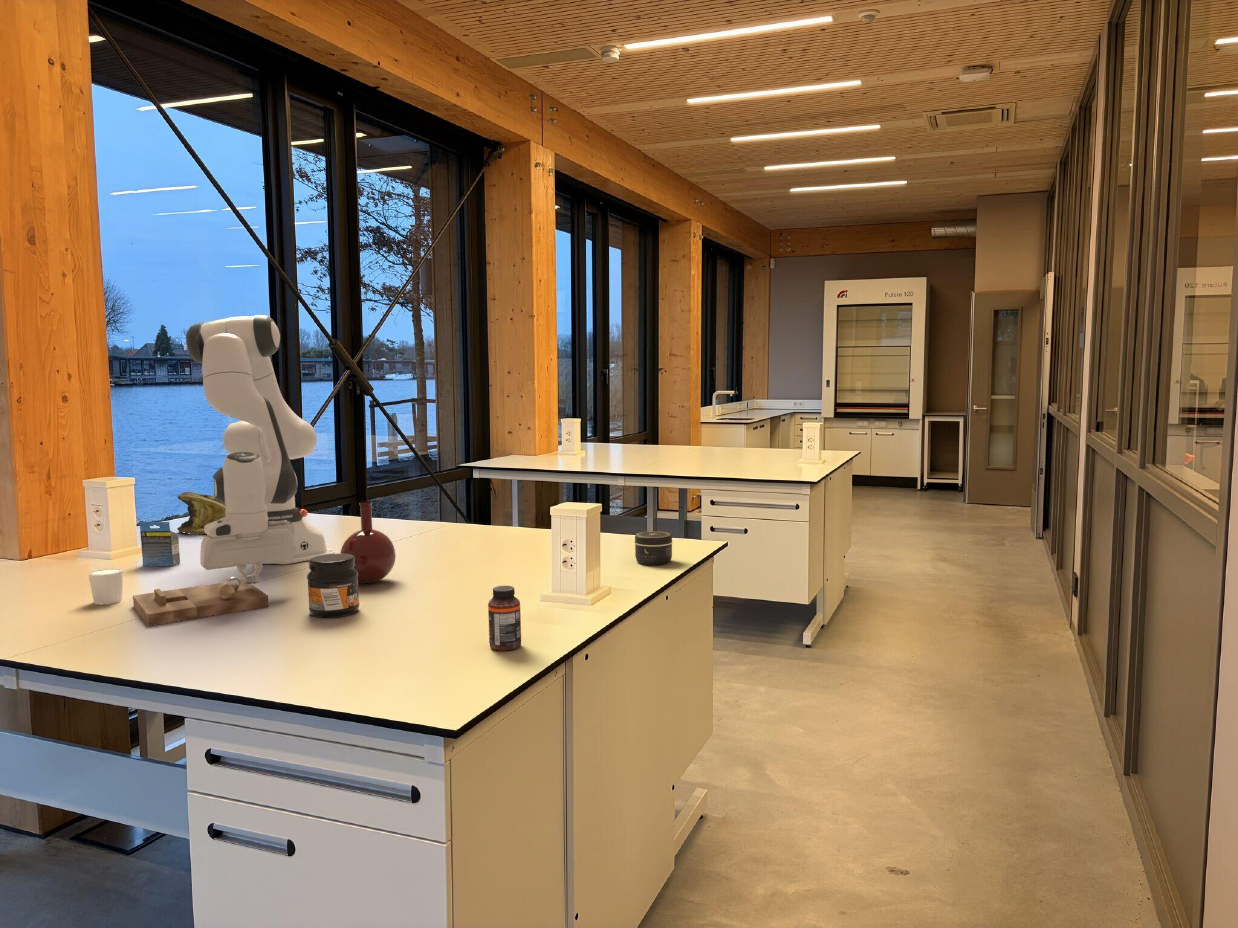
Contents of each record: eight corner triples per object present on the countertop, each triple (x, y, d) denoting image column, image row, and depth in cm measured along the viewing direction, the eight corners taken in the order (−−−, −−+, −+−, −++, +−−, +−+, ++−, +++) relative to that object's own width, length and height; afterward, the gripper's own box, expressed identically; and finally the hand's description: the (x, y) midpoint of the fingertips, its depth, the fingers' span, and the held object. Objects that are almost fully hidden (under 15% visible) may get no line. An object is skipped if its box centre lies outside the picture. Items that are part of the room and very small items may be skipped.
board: (245, 589, 215) (244, 571, 215) (268, 606, 199) (267, 586, 199) (133, 606, 201) (132, 586, 201) (148, 626, 185) (146, 604, 184)
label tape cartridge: (181, 563, 246) (178, 519, 245) (172, 566, 242) (169, 521, 241) (150, 563, 247) (147, 519, 246) (141, 566, 243) (138, 521, 242)
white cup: (132, 598, 208) (129, 569, 207) (106, 606, 202) (104, 575, 201) (109, 596, 210) (107, 567, 210) (83, 604, 204) (81, 573, 203)
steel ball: (239, 588, 206) (238, 574, 206) (242, 590, 203) (241, 577, 203) (224, 590, 204) (223, 576, 204) (227, 593, 202) (226, 579, 201)
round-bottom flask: (407, 579, 224) (404, 499, 222) (372, 591, 212) (368, 507, 210) (366, 574, 229) (362, 497, 227) (329, 586, 217) (325, 504, 215)
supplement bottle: (490, 642, 170) (488, 584, 169) (521, 641, 171) (520, 583, 169) (488, 652, 164) (486, 592, 163) (521, 651, 165) (519, 591, 163)
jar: (629, 565, 236) (629, 536, 235) (642, 557, 245) (642, 530, 244) (665, 567, 232) (665, 538, 231) (677, 559, 241) (677, 532, 241)
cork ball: (233, 596, 198) (232, 582, 198) (236, 599, 196) (235, 585, 195) (217, 598, 196) (216, 584, 196) (221, 601, 194) (220, 587, 193)
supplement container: (331, 621, 186) (328, 564, 185) (298, 614, 192) (295, 559, 191) (370, 609, 195) (367, 555, 194) (337, 603, 201) (334, 551, 200)
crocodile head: (156, 522, 286) (173, 484, 295) (187, 549, 299) (203, 513, 308) (229, 515, 280) (245, 477, 289) (258, 543, 292) (272, 506, 302)
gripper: (289, 517, 213) (292, 574, 214) (196, 526, 201) (200, 587, 202) (297, 520, 208) (300, 578, 209) (202, 530, 196) (206, 592, 197)
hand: (250, 583), depth 206 cm, fingers closed
